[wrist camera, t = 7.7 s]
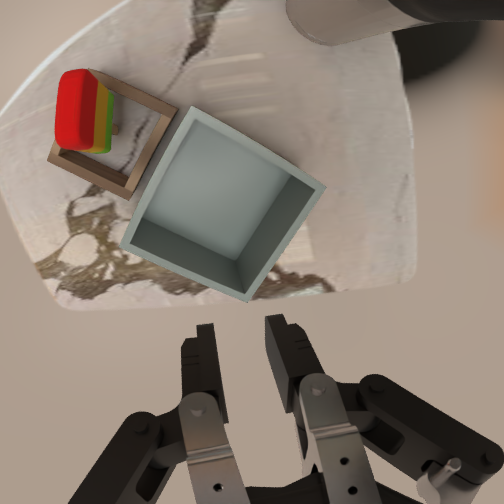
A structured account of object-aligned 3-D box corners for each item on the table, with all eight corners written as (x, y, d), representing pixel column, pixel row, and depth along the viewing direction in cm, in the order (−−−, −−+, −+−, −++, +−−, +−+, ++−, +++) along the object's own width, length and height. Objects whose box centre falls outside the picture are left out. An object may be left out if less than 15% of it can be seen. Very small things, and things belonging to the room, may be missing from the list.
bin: (191, 105, 30) (191, 105, 23) (299, 168, 35) (326, 187, 28) (132, 216, 34) (118, 247, 27) (236, 265, 39) (247, 302, 32)
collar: (99, 71, 26) (88, 68, 23) (178, 109, 30) (176, 109, 26) (61, 153, 29) (46, 160, 26) (135, 190, 33) (129, 200, 29)
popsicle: (59, 66, 14) (85, 62, 15) (110, 107, 29) (127, 105, 29) (50, 149, 16) (77, 146, 16) (107, 156, 30) (124, 156, 30)
